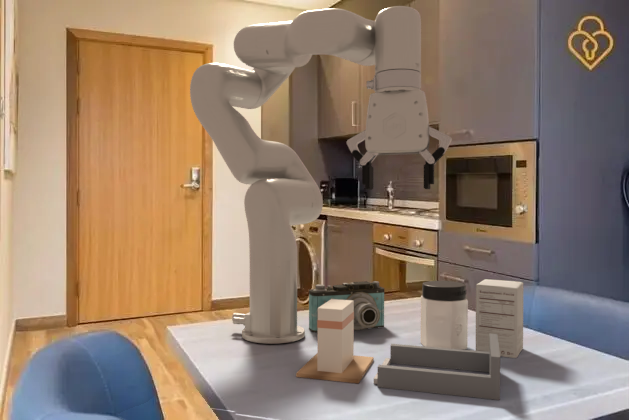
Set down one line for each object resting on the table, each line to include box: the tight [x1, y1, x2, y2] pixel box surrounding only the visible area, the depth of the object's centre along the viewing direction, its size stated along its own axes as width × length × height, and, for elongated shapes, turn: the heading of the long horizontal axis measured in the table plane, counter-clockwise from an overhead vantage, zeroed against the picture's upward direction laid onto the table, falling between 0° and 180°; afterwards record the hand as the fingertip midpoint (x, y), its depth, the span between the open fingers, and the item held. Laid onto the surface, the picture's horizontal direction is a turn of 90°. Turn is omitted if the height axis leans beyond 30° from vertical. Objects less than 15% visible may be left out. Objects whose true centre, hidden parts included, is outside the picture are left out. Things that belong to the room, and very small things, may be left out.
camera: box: [308, 280, 385, 334], centre depth 113 cm, size 16×10×10 cm, turn 108°
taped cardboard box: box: [316, 299, 355, 373], centre depth 89 cm, size 4×8×10 cm, turn 163°
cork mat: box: [295, 352, 375, 384], centre depth 89 cm, size 10×12×1 cm
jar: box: [420, 280, 469, 350], centre depth 102 cm, size 9×8×12 cm
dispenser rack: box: [373, 334, 501, 401], centre depth 84 cm, size 18×13×6 cm
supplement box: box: [475, 278, 524, 359], centre depth 100 cm, size 7×7×13 cm
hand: (397, 189), depth 90 cm, fingers open, 9 cm apart
